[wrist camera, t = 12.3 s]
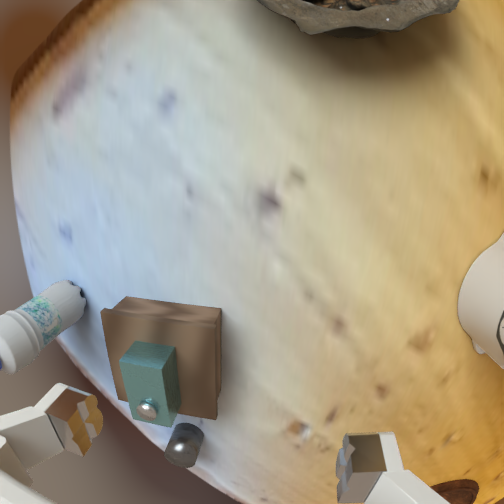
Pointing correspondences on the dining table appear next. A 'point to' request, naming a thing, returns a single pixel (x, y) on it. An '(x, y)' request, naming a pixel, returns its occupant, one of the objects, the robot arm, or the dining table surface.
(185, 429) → the tin
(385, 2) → the stone bowl
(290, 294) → the dining table surface
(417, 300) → the dining table surface
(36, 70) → the dining table surface
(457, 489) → the cutting board
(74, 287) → the bottle
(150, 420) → the block
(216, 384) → the stand
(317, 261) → the dining table surface
